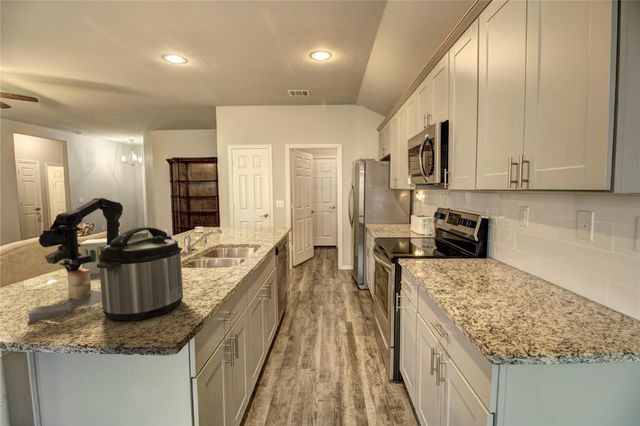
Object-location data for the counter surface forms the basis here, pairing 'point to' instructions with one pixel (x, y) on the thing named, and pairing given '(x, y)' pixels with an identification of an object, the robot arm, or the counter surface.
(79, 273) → the birch block
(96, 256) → the supplement box
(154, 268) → the pressure cooker
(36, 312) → the stone block
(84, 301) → the rubber mat
